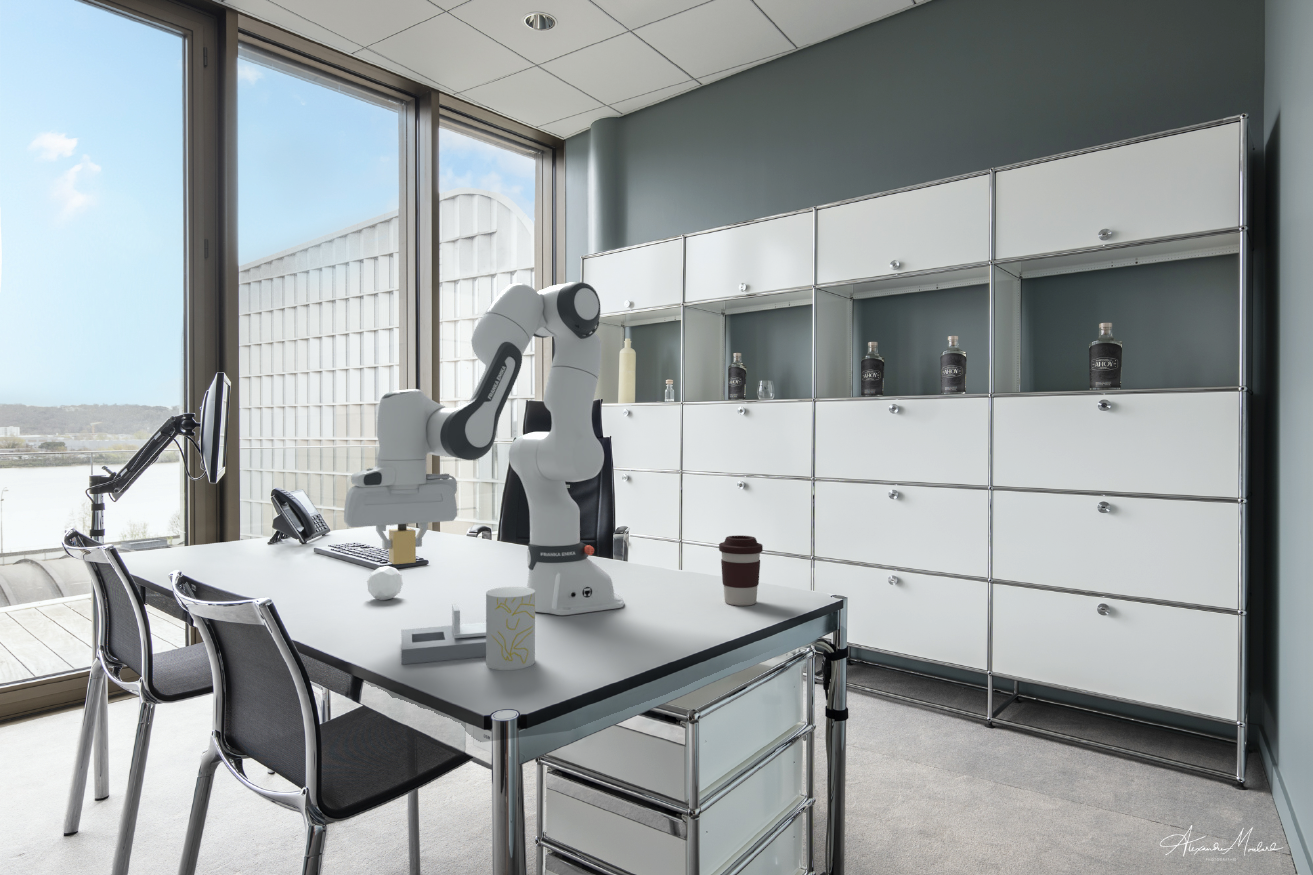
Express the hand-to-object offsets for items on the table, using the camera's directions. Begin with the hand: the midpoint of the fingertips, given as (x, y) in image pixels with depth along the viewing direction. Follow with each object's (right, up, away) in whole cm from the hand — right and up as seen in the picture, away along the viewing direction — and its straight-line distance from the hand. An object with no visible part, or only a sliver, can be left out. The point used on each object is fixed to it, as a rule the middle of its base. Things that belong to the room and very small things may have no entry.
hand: (402, 547), depth 140 cm
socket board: (+10, -17, -7) cm, 21 cm away
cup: (+23, -18, -14) cm, 32 cm away
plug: (0, -3, 0) cm, 3 cm away
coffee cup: (+67, -17, +30) cm, 76 cm away
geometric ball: (-15, -17, +32) cm, 39 cm away
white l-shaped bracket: (+15, -14, -6) cm, 21 cm away
